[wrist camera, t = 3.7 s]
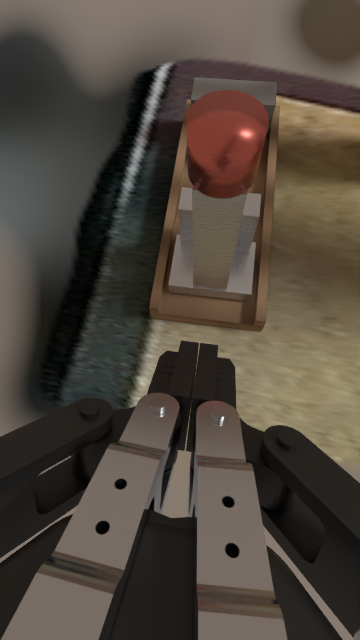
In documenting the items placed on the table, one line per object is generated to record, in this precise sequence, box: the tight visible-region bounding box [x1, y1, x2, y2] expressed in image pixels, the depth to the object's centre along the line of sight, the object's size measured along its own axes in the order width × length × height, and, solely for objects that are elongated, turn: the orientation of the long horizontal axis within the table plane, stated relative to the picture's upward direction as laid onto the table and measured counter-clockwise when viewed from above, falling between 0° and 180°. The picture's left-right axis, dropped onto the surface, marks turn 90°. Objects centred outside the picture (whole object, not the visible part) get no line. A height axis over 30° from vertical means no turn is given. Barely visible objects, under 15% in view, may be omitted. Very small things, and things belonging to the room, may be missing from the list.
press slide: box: [168, 90, 269, 301], centre depth 23 cm, size 6×7×16 cm
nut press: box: [149, 77, 280, 331], centre depth 32 cm, size 24×10×6 cm, turn 172°
